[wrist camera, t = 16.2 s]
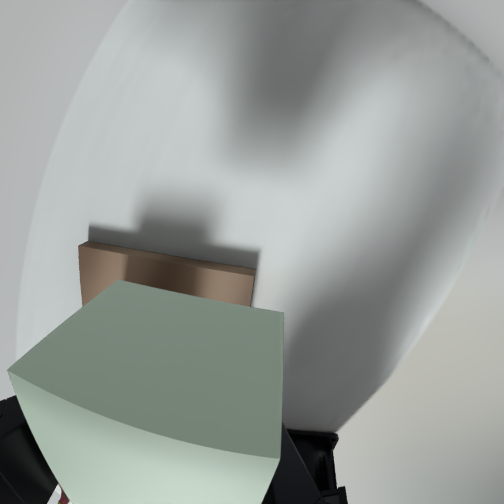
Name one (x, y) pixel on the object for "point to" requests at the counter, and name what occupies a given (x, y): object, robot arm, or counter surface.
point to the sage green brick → (157, 399)
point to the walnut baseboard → (161, 274)
